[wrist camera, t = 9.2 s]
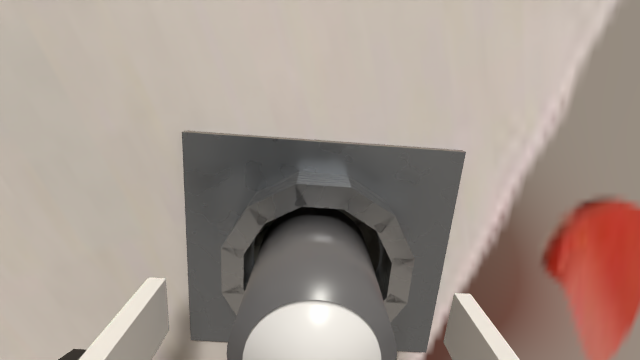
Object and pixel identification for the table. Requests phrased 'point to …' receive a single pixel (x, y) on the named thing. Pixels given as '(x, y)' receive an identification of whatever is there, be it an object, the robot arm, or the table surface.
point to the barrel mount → (320, 192)
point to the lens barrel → (312, 294)
